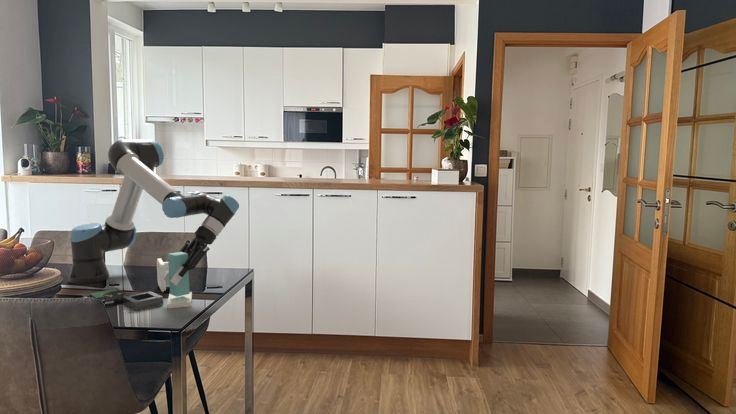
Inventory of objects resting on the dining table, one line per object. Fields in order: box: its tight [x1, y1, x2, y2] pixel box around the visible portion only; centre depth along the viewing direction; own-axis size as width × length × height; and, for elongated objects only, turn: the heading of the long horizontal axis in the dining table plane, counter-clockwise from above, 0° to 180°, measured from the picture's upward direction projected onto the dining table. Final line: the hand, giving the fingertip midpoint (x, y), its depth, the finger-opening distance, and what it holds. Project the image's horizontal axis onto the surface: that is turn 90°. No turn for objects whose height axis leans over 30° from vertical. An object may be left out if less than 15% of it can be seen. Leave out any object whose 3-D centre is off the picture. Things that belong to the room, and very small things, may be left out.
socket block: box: [122, 290, 164, 312], centre depth 187 cm, size 10×10×3 cm
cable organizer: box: [156, 257, 170, 293], centre depth 209 cm, size 15×11×12 cm
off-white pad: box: [166, 291, 193, 309], centre depth 191 cm, size 14×8×2 cm, turn 17°
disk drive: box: [88, 288, 130, 308], centre depth 193 cm, size 10×3×15 cm
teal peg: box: [167, 251, 190, 297], centre depth 190 cm, size 5×5×15 cm
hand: (169, 281), depth 187 cm, fingers closed on teal peg, 5 cm apart
